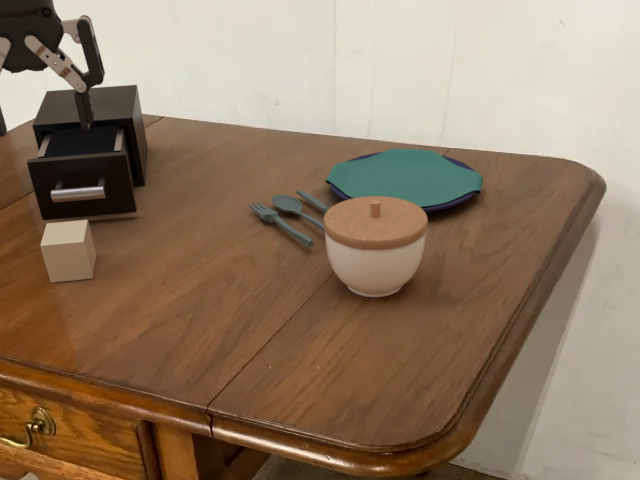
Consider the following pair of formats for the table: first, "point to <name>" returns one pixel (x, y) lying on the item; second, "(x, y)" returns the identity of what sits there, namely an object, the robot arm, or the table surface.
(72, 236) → the ivory upright block
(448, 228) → the table surface
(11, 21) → the robot arm
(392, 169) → the cutlery set
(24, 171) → the table surface
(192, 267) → the table surface
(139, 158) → the dark wood drawer unit
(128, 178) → the open drawer with handle
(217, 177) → the table surface
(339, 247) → the trinket box
